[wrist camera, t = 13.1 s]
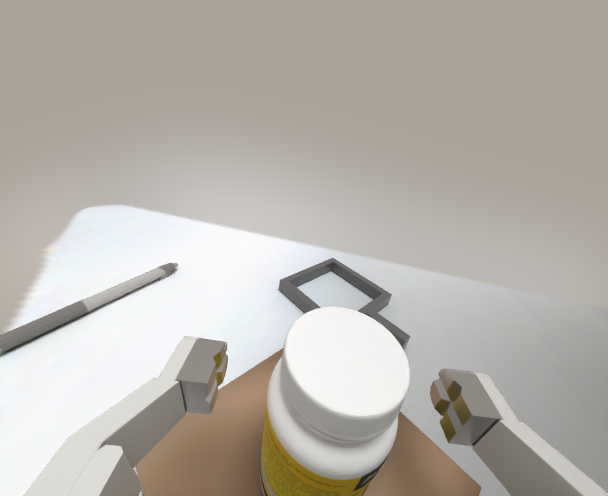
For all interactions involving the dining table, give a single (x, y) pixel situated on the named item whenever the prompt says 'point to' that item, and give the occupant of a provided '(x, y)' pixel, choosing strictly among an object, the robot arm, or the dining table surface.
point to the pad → (248, 442)
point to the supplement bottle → (332, 405)
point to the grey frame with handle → (357, 280)
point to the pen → (80, 308)
